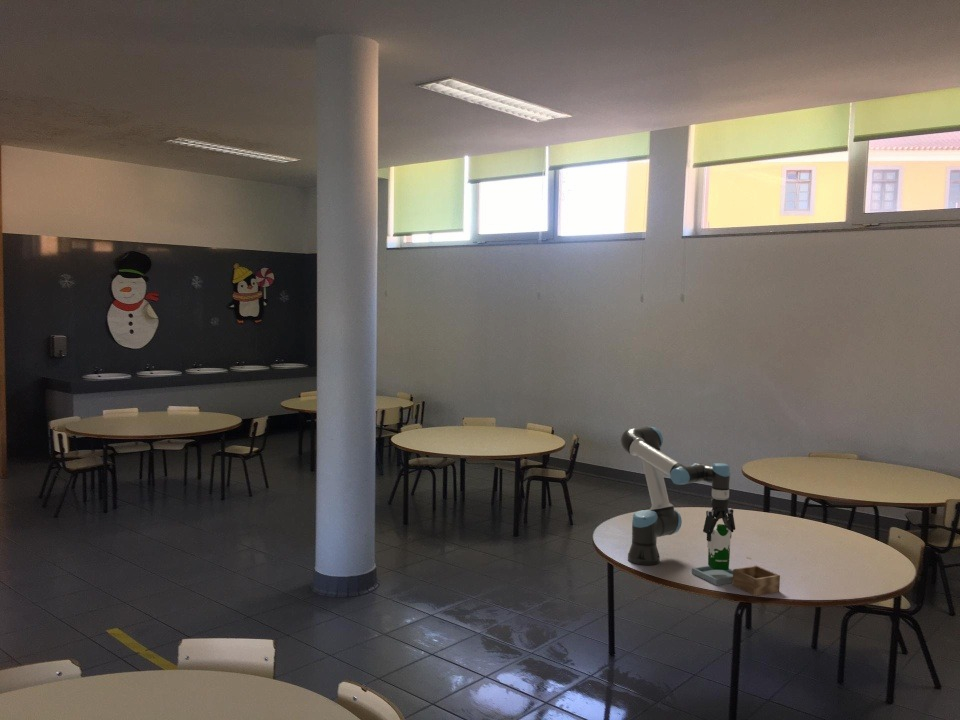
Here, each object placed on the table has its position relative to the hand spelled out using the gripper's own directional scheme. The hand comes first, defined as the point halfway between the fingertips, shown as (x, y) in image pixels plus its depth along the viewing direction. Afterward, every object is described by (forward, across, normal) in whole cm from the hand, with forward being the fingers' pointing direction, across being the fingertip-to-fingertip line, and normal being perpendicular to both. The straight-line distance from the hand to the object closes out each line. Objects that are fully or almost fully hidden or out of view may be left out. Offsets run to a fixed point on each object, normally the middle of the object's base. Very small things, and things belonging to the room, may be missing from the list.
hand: (718, 546), depth 326 cm
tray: (+14, 0, 0) cm, 14 cm away
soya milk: (+10, 0, 0) cm, 10 cm away
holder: (+14, +6, -17) cm, 23 cm away
